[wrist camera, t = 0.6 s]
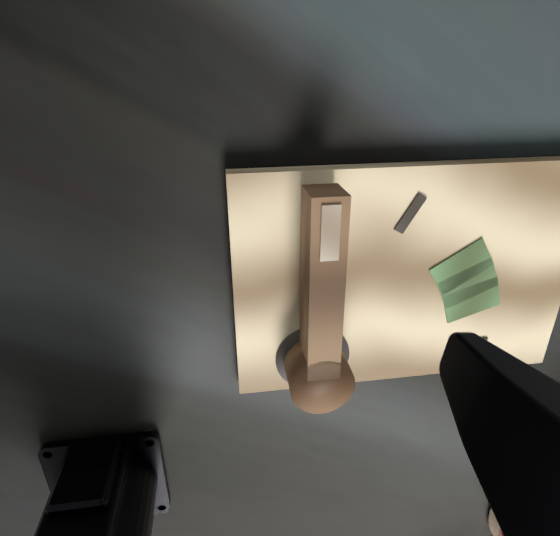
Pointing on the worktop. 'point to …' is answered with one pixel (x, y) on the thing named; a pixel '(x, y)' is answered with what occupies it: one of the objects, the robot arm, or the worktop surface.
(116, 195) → the worktop surface
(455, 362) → the robot arm
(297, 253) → the dial plate
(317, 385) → the walnut lever
